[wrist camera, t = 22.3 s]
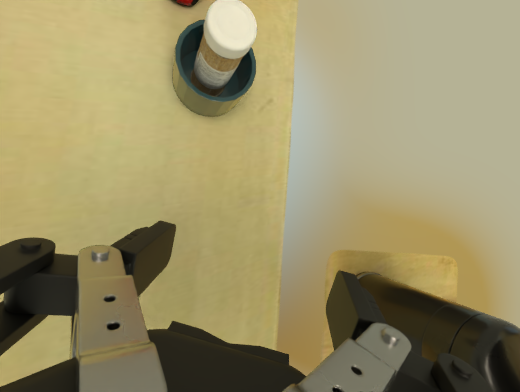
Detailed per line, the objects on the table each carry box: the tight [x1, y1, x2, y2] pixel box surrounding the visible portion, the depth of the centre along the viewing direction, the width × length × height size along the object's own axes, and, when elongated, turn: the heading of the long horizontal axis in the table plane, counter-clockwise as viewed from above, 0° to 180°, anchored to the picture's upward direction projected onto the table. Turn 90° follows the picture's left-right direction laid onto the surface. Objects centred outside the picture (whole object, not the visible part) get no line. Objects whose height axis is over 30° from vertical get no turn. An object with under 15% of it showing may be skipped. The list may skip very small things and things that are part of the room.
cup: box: [173, 20, 256, 117], centre depth 34 cm, size 9×9×6 cm
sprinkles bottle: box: [191, 0, 257, 97], centre depth 30 cm, size 5×5×14 cm
